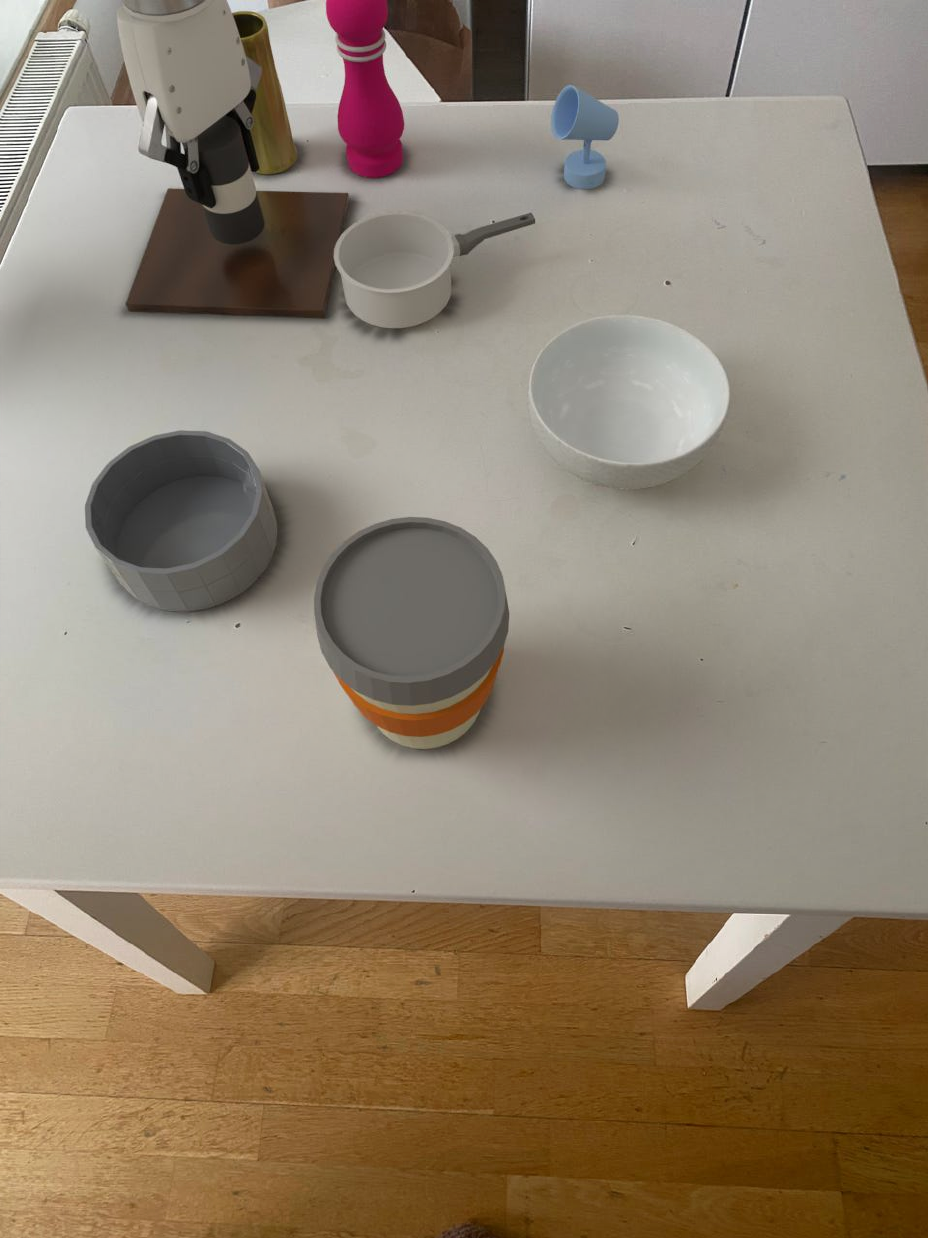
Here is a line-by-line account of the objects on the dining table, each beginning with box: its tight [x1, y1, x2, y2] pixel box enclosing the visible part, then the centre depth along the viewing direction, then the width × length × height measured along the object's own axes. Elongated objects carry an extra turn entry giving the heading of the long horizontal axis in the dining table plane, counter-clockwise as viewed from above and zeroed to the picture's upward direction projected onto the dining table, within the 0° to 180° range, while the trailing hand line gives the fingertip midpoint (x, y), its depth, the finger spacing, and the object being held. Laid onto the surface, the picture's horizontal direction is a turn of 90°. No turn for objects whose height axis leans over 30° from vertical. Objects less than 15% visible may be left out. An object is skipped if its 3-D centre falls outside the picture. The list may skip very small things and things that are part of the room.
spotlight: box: [550, 84, 620, 190], centre depth 94 cm, size 5×10×7 cm
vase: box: [232, 10, 298, 175], centre depth 95 cm, size 6×6×14 cm
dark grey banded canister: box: [181, 116, 265, 245], centre depth 87 cm, size 6×6×10 cm
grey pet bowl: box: [84, 429, 278, 613], centre depth 74 cm, size 14×14×6 cm
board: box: [125, 187, 350, 319], centre depth 93 cm, size 20×18×1 cm
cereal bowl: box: [527, 314, 731, 490], centre depth 77 cm, size 17×17×7 cm
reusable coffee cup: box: [313, 516, 510, 750], centre depth 62 cm, size 13×13×15 cm
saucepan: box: [334, 210, 536, 329], centre depth 88 cm, size 12×20×6 cm, turn 109°
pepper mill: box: [325, 0, 405, 179], centre depth 92 cm, size 7×7×20 cm
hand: (224, 182), depth 87 cm, fingers closed on dark grey banded canister, 5 cm apart
